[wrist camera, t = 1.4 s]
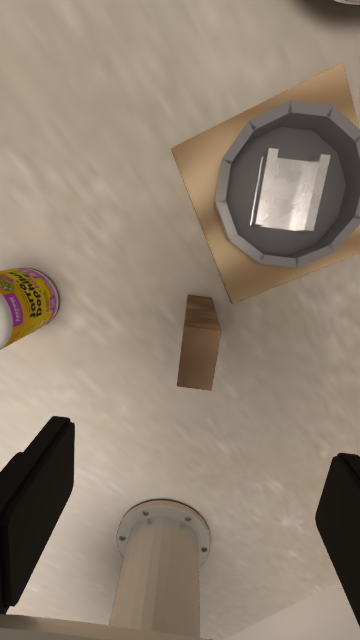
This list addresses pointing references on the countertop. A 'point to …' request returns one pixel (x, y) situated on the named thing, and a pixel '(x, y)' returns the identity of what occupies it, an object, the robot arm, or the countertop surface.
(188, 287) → the countertop surface
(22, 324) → the supplement bottle
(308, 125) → the round grey dish
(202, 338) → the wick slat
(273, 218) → the clip
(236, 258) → the cork mat
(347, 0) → the paper bowls
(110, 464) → the countertop surface
